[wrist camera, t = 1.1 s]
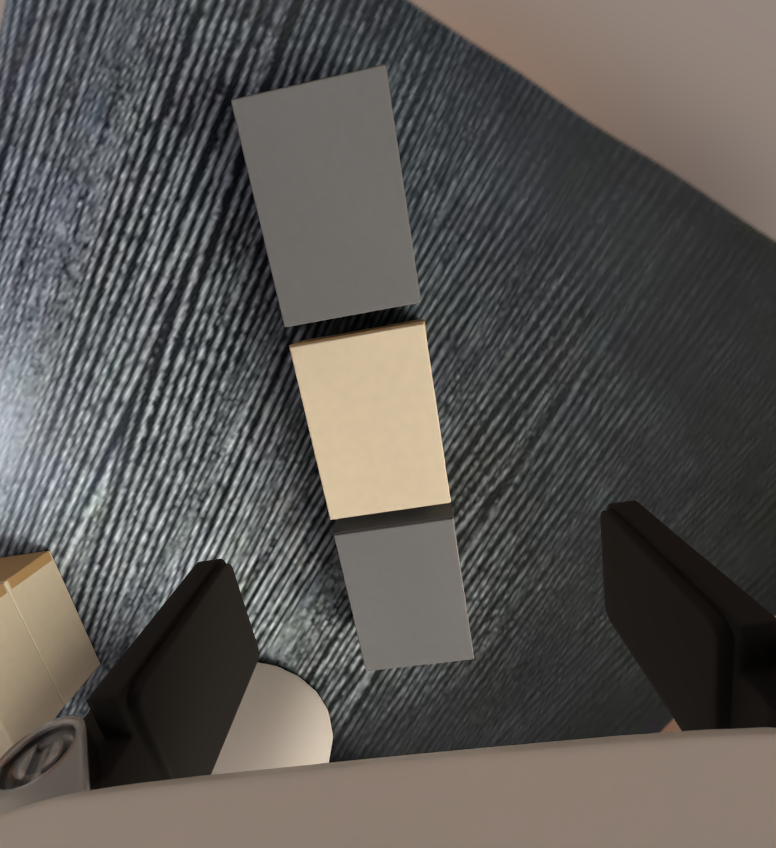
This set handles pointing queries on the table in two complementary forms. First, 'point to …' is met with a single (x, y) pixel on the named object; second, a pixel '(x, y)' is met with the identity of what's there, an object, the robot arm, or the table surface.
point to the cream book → (373, 419)
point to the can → (276, 725)
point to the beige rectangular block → (50, 619)
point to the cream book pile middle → (21, 679)
